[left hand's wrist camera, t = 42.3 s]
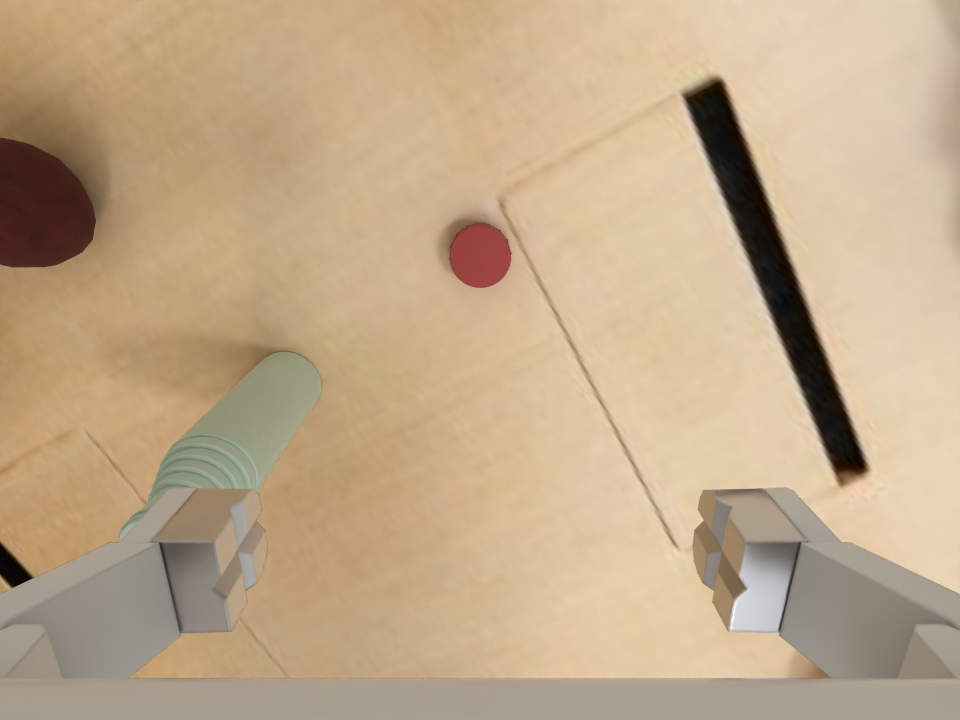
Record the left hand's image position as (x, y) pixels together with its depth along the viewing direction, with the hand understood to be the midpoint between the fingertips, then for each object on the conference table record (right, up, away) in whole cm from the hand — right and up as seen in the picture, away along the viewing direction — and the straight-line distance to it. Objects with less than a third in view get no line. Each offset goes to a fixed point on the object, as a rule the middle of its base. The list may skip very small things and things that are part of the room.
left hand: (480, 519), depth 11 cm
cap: (0, +10, +26) cm, 28 cm away
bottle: (-14, +1, +31) cm, 34 cm away
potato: (-27, +13, +27) cm, 40 cm away
